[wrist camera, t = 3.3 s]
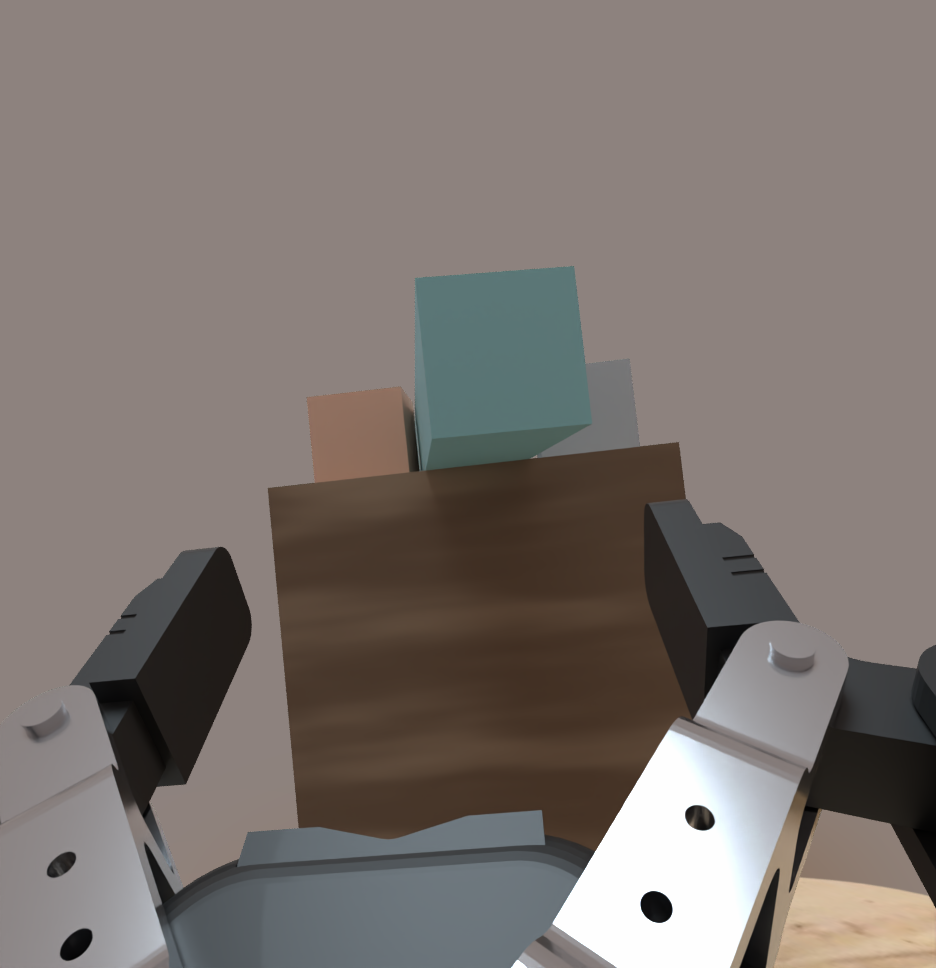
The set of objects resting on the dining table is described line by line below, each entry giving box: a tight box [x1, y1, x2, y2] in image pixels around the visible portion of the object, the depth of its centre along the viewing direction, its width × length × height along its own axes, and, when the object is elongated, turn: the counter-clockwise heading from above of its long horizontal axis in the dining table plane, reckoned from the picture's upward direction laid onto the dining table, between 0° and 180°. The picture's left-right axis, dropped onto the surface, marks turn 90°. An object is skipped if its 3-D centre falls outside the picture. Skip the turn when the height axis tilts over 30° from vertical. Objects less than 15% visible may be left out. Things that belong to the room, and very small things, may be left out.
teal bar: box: [415, 266, 592, 471], centre depth 28 cm, size 24×4×4 cm, turn 5°
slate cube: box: [537, 359, 640, 458], centre depth 33 cm, size 4×4×4 cm
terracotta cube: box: [307, 387, 420, 483], centre depth 34 cm, size 4×4×4 cm
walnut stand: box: [268, 442, 692, 851], centre depth 32 cm, size 15×16×32 cm
